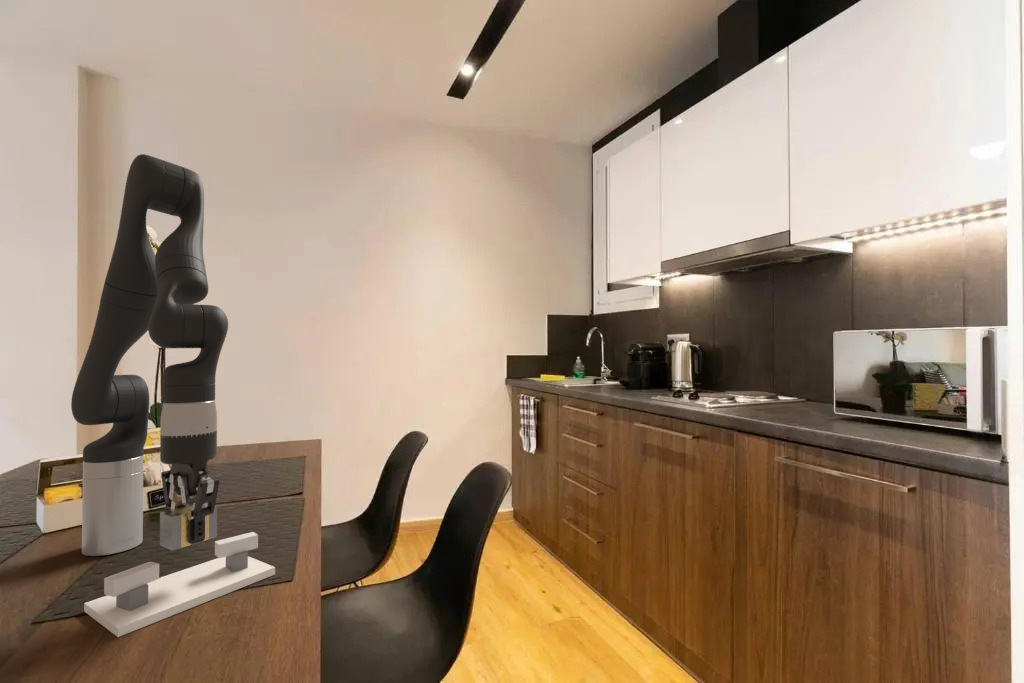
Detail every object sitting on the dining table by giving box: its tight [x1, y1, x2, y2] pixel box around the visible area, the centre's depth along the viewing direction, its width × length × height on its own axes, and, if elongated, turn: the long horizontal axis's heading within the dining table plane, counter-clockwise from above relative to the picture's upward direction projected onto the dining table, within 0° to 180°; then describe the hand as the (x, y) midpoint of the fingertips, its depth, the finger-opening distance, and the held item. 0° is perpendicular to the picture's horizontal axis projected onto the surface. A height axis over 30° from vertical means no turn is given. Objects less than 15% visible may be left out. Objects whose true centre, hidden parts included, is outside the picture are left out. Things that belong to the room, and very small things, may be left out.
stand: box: [83, 531, 276, 638], centre depth 78 cm, size 12×22×6 cm, turn 147°
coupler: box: [159, 503, 218, 552], centre depth 79 cm, size 4×6×5 cm, turn 147°
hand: (189, 538), depth 79 cm, fingers closed on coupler, 4 cm apart
